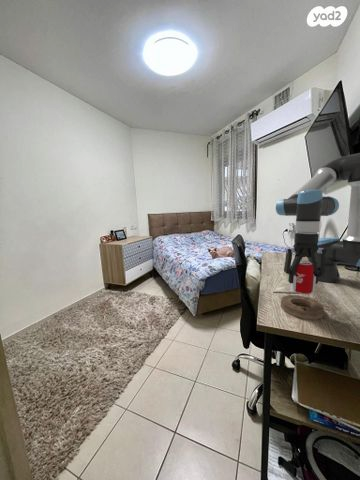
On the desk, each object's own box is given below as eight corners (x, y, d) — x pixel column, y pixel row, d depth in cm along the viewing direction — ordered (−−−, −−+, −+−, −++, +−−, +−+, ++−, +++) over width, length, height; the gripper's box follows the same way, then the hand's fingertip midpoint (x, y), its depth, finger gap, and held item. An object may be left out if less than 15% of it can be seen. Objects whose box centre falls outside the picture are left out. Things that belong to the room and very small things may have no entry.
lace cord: (299, 292, 91) (299, 290, 91) (300, 293, 90) (300, 291, 90) (272, 291, 93) (272, 289, 93) (272, 292, 92) (273, 290, 92)
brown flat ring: (310, 301, 82) (310, 295, 82) (331, 320, 68) (332, 312, 68) (276, 300, 84) (276, 294, 83) (290, 318, 70) (290, 311, 70)
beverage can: (294, 287, 79) (296, 259, 77) (312, 291, 75) (314, 261, 74) (291, 292, 74) (293, 262, 73) (310, 296, 71) (313, 265, 69)
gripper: (328, 231, 74) (322, 288, 77) (276, 231, 76) (272, 286, 80) (341, 233, 67) (335, 296, 70) (283, 233, 69) (279, 294, 72)
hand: (302, 291), depth 75 cm, fingers closed on beverage can, 6 cm apart
